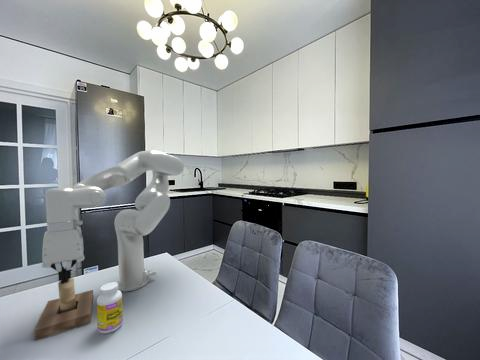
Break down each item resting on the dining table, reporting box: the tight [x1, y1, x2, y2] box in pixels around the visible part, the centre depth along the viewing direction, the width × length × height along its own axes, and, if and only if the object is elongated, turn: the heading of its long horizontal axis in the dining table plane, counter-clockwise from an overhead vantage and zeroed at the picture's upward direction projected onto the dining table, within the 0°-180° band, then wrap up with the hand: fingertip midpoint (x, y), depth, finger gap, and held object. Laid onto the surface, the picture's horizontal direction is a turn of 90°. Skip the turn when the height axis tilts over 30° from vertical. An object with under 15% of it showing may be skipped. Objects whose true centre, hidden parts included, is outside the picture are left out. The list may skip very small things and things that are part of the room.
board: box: [33, 289, 95, 341], centre depth 71 cm, size 13×16×3 cm
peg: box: [57, 277, 76, 313], centre depth 71 cm, size 4×4×12 cm
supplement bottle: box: [96, 281, 124, 334], centre depth 66 cm, size 7×7×13 cm
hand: (65, 281), depth 71 cm, fingers closed
